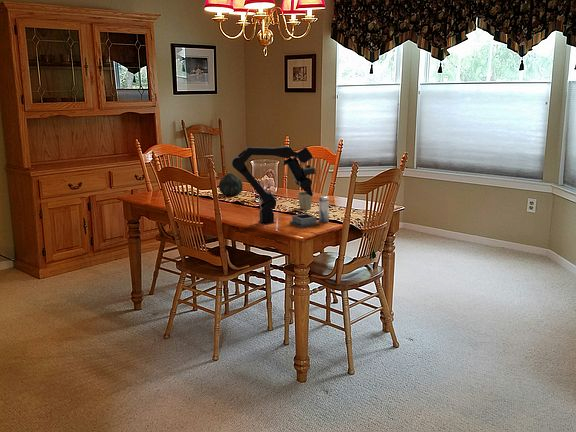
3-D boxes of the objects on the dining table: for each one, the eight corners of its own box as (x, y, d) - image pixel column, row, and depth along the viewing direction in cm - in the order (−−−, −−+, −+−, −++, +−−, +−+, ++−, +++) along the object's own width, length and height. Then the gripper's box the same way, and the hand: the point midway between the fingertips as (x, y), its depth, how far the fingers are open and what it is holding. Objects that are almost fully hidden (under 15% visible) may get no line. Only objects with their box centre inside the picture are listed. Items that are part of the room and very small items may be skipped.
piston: (322, 223, 298) (322, 198, 294) (316, 221, 302) (316, 196, 299) (330, 222, 300) (330, 197, 297) (325, 220, 304) (325, 195, 301)
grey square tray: (300, 227, 289) (300, 220, 288) (289, 223, 299) (289, 215, 298) (319, 224, 294) (319, 217, 294) (308, 220, 304) (308, 212, 303)
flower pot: (299, 210, 326) (299, 195, 324) (295, 207, 335) (294, 192, 333) (315, 209, 329) (315, 194, 327) (310, 205, 338) (310, 191, 335)
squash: (236, 182, 383) (223, 167, 374) (250, 186, 372) (237, 171, 363) (223, 199, 379) (210, 184, 370) (237, 203, 368) (223, 188, 359)
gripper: (313, 162, 288) (327, 189, 293) (305, 157, 306) (319, 182, 310) (293, 174, 288) (308, 200, 292) (287, 168, 305) (301, 193, 310)
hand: (310, 194), depth 301 cm, fingers open, 9 cm apart
